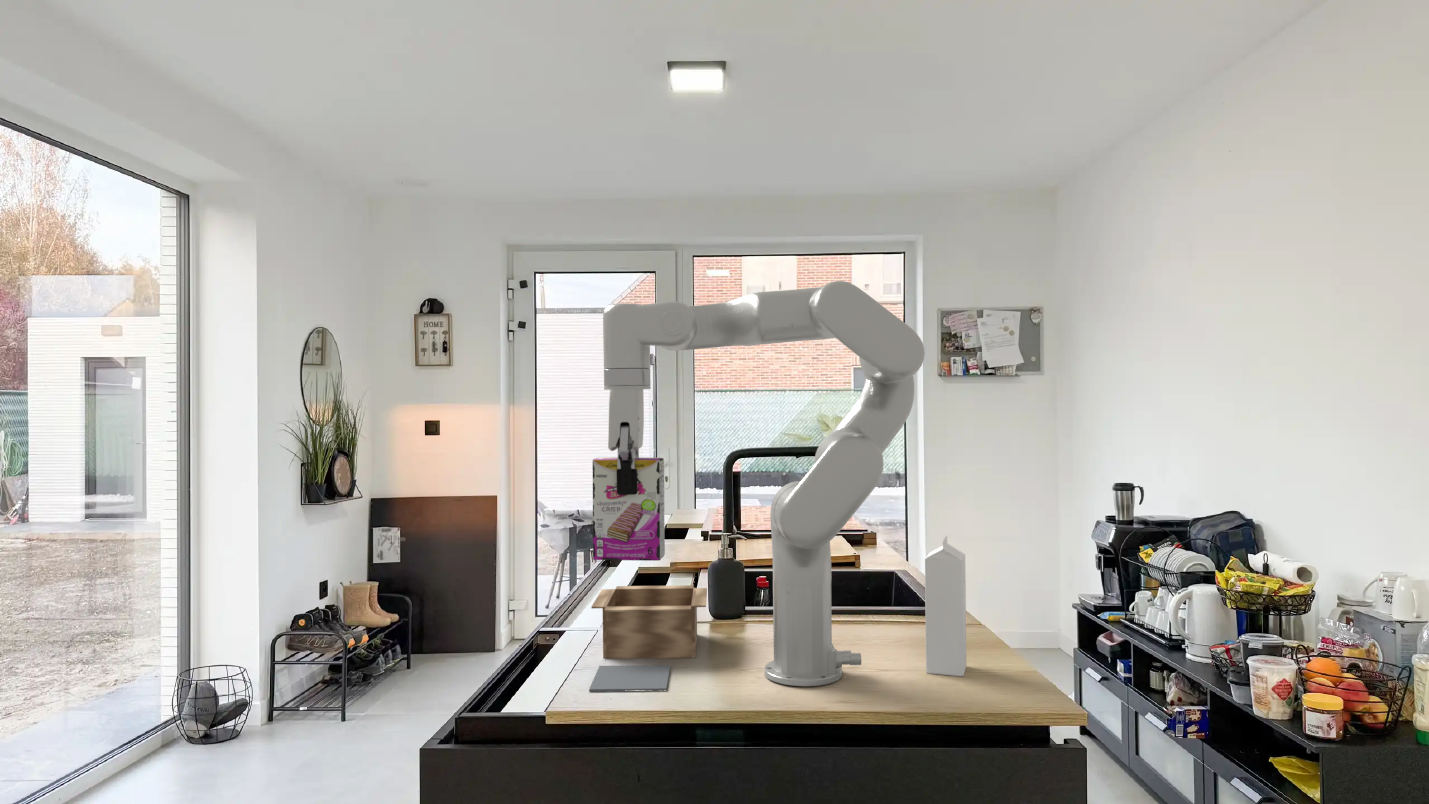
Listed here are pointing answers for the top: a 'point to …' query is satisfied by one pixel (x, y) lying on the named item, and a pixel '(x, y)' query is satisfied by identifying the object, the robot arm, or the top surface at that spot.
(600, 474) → the candy bar box
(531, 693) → the top surface
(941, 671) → the milk
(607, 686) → the mat
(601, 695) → the top surface
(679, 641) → the open wooden box
